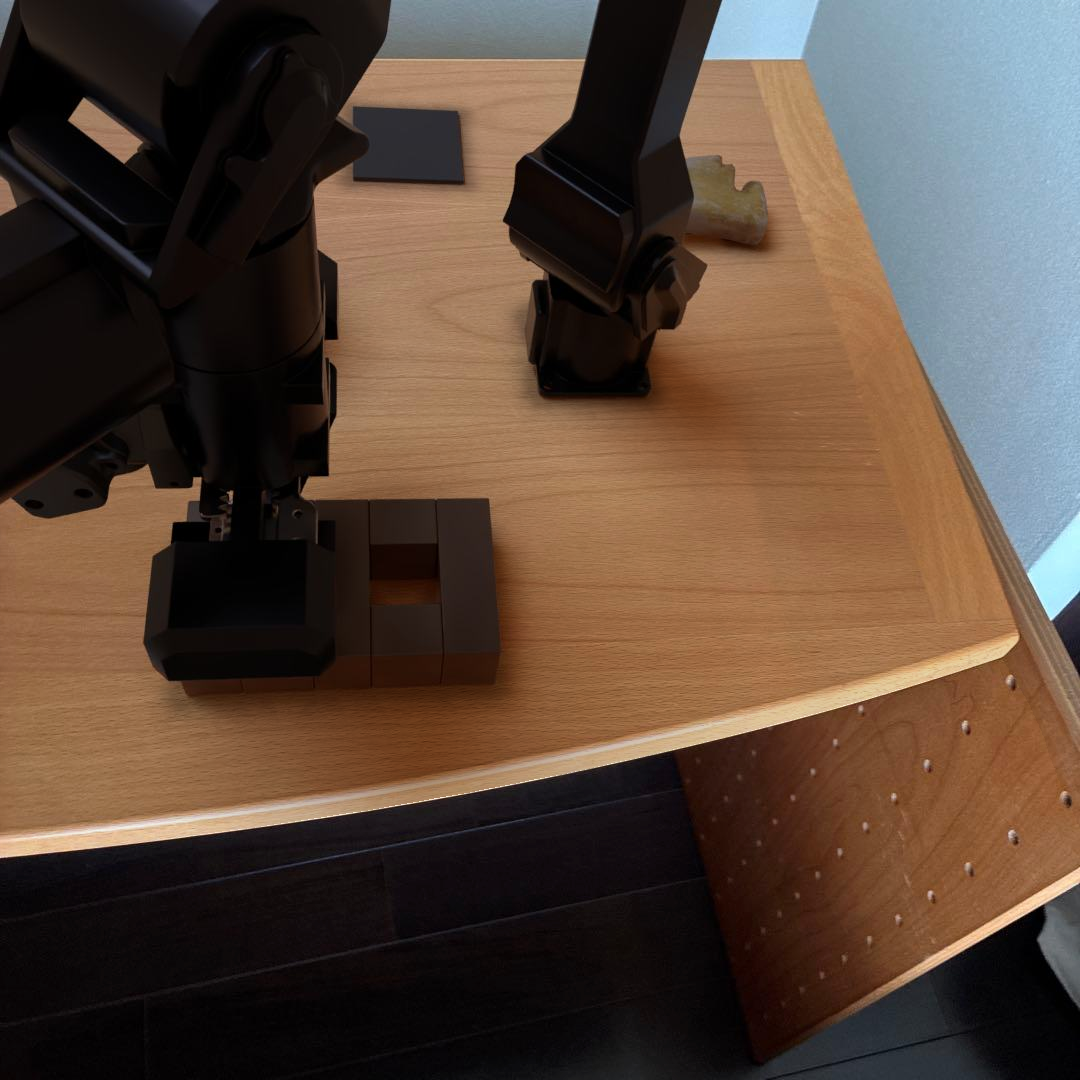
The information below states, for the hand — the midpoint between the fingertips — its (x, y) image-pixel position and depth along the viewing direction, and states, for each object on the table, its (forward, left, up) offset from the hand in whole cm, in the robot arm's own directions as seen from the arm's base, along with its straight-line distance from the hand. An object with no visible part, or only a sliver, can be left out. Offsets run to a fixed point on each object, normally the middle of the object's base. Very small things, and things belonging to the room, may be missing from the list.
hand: (273, 557), depth 49 cm
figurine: (-22, -28, -5) cm, 36 cm away
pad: (-7, -34, -5) cm, 36 cm away
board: (-3, 0, -5) cm, 6 cm away
